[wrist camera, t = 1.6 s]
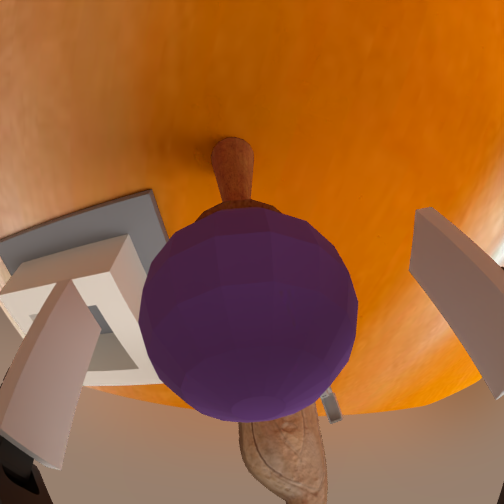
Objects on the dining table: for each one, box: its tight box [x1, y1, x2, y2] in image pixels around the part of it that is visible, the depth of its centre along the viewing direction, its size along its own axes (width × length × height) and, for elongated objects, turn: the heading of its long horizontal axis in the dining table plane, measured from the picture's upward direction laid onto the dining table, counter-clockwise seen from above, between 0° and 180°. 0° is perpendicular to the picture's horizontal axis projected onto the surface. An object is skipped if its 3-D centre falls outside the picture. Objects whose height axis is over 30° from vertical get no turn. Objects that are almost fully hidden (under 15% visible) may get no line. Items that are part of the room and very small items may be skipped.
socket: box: [0, 189, 169, 386], centre depth 26 cm, size 20×20×6 cm
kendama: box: [138, 137, 358, 423], centre depth 14 cm, size 6×6×20 cm
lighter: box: [320, 385, 343, 424], centre depth 35 cm, size 7×2×8 cm, turn 29°
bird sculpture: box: [238, 402, 328, 504], centre depth 19 cm, size 11×12×32 cm
